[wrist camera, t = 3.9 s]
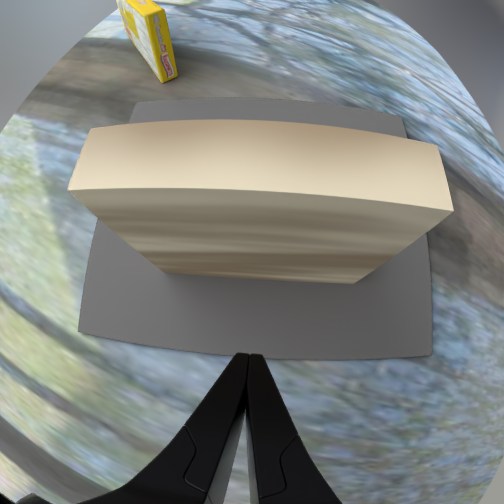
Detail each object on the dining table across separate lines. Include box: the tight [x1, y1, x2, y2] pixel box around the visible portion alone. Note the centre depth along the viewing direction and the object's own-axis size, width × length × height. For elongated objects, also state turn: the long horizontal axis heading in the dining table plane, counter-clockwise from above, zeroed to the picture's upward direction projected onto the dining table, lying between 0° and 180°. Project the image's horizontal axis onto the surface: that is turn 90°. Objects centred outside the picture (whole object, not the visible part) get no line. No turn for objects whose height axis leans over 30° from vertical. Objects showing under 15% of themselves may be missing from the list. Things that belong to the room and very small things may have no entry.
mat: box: [78, 98, 432, 360], centre depth 20 cm, size 20×24×1 cm
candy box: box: [116, 0, 178, 83], centre depth 23 cm, size 16×2×8 cm, turn 31°
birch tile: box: [67, 119, 453, 284], centre depth 13 cm, size 2×12×11 cm, turn 86°
